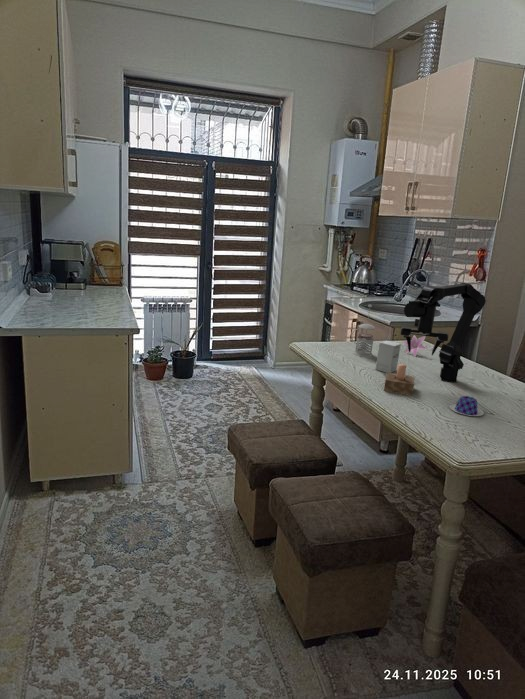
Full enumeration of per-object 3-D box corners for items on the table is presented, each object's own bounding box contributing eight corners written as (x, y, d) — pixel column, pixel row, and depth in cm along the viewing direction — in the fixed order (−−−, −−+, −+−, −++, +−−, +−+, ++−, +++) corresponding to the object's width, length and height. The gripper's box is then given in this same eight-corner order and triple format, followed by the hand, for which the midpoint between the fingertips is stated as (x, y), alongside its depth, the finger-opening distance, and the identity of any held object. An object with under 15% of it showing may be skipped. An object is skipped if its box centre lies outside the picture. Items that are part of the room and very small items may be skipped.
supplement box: (390, 373, 237) (394, 346, 233) (374, 369, 241) (378, 342, 238) (397, 370, 242) (401, 343, 239) (381, 366, 247) (386, 339, 243)
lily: (399, 351, 281) (398, 337, 275) (420, 344, 281) (419, 329, 275) (410, 365, 271) (409, 350, 265) (432, 357, 272) (431, 342, 266)
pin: (402, 385, 218) (406, 364, 215) (402, 388, 215) (406, 367, 212) (394, 384, 218) (398, 363, 216) (394, 387, 215) (398, 365, 213)
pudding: (450, 403, 206) (453, 390, 205) (483, 410, 202) (486, 397, 201) (447, 413, 196) (450, 399, 194) (482, 420, 191) (485, 406, 190)
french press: (373, 358, 260) (380, 307, 253) (349, 354, 262) (355, 304, 255) (373, 353, 269) (380, 303, 262) (350, 349, 271) (356, 301, 264)
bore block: (412, 387, 221) (413, 376, 220) (412, 395, 210) (414, 384, 209) (385, 382, 223) (386, 372, 222) (383, 390, 213) (385, 380, 212)
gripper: (449, 316, 225) (442, 352, 229) (404, 310, 230) (398, 345, 234) (451, 321, 215) (444, 358, 219) (403, 315, 219) (397, 351, 223)
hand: (420, 353), depth 224 cm, fingers open, 9 cm apart
